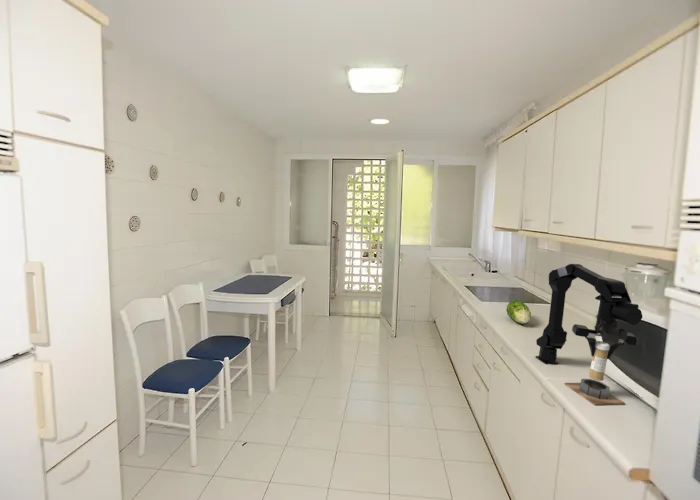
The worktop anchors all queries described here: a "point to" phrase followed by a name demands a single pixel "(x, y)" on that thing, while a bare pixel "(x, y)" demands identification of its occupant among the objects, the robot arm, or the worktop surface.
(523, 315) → the lettuce
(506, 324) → the worktop surface
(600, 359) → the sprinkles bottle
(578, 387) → the socket board
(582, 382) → the socket collar
